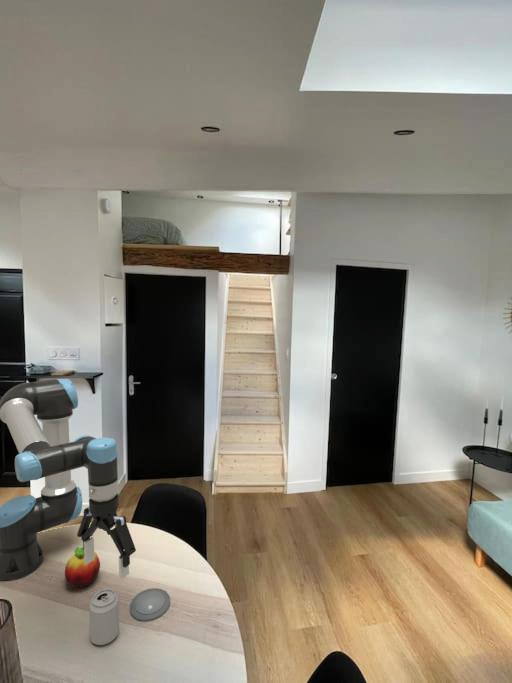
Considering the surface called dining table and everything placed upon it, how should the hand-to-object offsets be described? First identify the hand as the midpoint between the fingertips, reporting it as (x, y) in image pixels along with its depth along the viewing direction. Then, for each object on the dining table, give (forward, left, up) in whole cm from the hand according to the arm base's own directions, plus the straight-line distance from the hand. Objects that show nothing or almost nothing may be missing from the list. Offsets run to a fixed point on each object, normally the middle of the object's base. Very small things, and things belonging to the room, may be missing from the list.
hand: (106, 568), depth 105 cm
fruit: (-23, +10, -19) cm, 32 cm away
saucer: (+4, +13, -19) cm, 23 cm away
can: (0, -1, -19) cm, 19 cm away
